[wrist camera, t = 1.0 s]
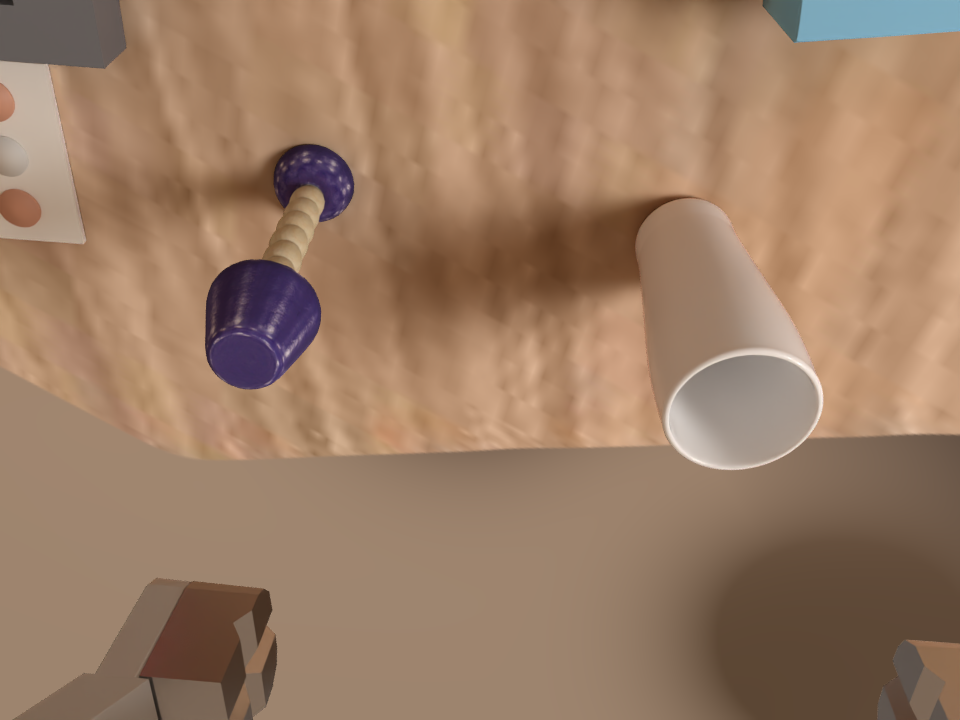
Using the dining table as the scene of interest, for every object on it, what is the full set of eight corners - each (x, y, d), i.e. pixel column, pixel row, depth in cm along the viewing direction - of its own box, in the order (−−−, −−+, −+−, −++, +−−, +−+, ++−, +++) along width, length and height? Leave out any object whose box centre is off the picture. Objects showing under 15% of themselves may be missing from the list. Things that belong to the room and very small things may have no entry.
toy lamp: (259, 142, 46) (160, 325, 32) (345, 124, 45) (280, 304, 32) (290, 223, 49) (211, 423, 35) (371, 207, 48) (322, 405, 35)
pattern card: (-77, 51, 43) (-84, 55, 43) (47, 61, 43) (42, 65, 43) (-23, 232, 49) (-28, 237, 49) (86, 240, 49) (82, 245, 49)
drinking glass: (603, 275, 50) (636, 456, 38) (646, 167, 46) (698, 332, 34) (715, 300, 51) (781, 485, 39) (766, 197, 47) (857, 368, 35)
